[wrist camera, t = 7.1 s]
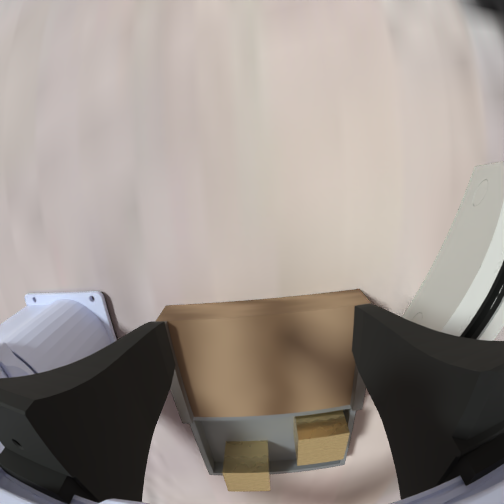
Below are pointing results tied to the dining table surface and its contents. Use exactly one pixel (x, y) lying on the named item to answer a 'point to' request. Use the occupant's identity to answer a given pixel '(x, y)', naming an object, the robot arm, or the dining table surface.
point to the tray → (259, 438)
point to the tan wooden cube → (320, 437)
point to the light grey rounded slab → (468, 265)
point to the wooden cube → (246, 466)
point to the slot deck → (264, 355)
